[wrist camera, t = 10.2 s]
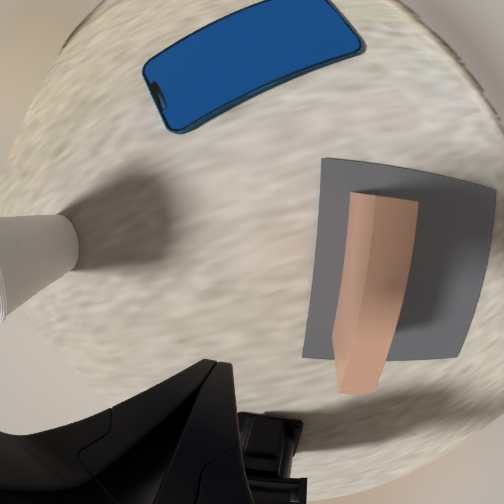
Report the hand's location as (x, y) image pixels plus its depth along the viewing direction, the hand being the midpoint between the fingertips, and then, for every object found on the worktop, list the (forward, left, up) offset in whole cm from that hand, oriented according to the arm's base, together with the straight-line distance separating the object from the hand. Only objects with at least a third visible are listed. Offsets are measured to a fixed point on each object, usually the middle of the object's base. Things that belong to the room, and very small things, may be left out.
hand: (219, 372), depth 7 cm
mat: (0, -10, -11) cm, 15 cm away
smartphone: (+15, +2, -12) cm, 19 cm away
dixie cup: (0, +20, -12) cm, 23 cm away
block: (0, -6, -11) cm, 12 cm away
